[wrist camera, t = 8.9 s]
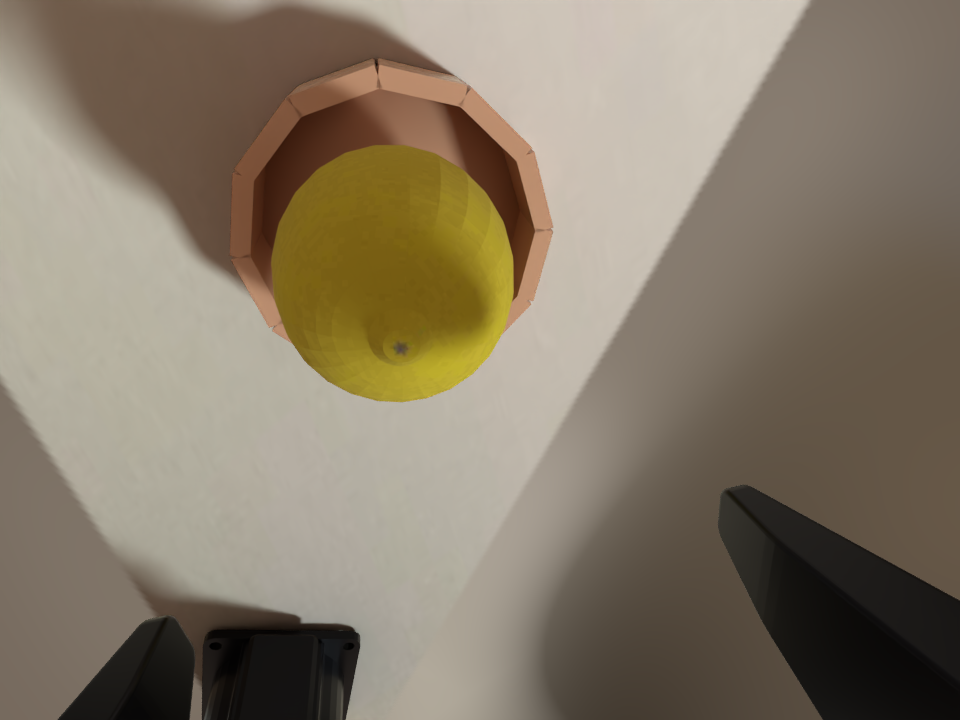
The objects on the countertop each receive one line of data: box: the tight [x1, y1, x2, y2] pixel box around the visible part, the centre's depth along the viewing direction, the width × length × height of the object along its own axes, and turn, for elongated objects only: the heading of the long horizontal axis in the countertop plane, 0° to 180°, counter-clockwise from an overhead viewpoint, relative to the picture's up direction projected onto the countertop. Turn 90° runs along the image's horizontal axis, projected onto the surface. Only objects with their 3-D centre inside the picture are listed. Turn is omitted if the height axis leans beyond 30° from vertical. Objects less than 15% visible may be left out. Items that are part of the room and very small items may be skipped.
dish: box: [230, 58, 553, 344], centre depth 17 cm, size 8×8×2 cm
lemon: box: [271, 145, 514, 402], centre depth 14 cm, size 6×6×8 cm
